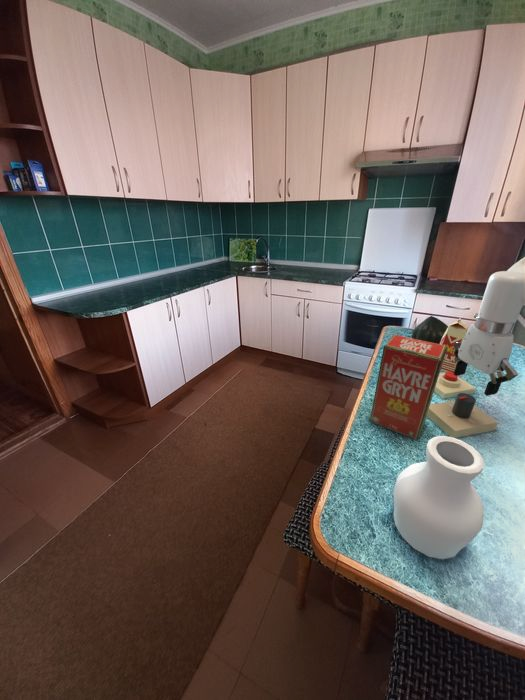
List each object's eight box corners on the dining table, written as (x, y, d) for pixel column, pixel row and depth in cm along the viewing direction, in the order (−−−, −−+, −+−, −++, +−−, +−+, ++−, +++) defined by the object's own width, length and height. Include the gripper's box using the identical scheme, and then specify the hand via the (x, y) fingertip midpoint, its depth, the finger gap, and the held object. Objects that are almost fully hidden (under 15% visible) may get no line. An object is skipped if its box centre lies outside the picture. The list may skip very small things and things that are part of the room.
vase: (385, 546, 54) (407, 471, 45) (388, 485, 65) (407, 415, 56) (476, 582, 49) (522, 505, 39) (462, 508, 60) (496, 435, 51)
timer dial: (461, 407, 84) (467, 391, 82) (473, 417, 80) (480, 400, 78) (448, 409, 84) (453, 393, 81) (460, 419, 80) (466, 402, 77)
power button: (450, 375, 99) (451, 371, 98) (458, 381, 95) (460, 376, 95) (441, 376, 98) (442, 372, 97) (449, 382, 95) (451, 378, 94)
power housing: (450, 377, 104) (453, 368, 102) (474, 393, 95) (478, 383, 93) (421, 382, 102) (424, 372, 100) (443, 399, 93) (446, 388, 91)
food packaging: (367, 421, 84) (382, 344, 73) (378, 405, 91) (393, 332, 79) (417, 441, 77) (442, 359, 65) (425, 422, 83) (449, 344, 72)
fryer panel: (462, 406, 89) (465, 398, 88) (495, 430, 80) (499, 421, 78) (423, 413, 87) (425, 405, 85) (451, 439, 77) (455, 430, 76)
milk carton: (456, 375, 105) (473, 324, 96) (428, 367, 110) (442, 318, 101) (461, 366, 111) (478, 317, 102) (435, 358, 116) (449, 311, 107)
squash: (456, 350, 110) (458, 314, 114) (413, 346, 116) (416, 311, 119) (446, 359, 123) (448, 326, 127) (407, 355, 128) (410, 324, 132)
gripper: (452, 314, 77) (437, 369, 84) (516, 341, 62) (491, 405, 69) (476, 311, 78) (459, 366, 86) (545, 337, 63) (516, 400, 71)
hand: (473, 383), depth 78 cm, fingers open, 9 cm apart
